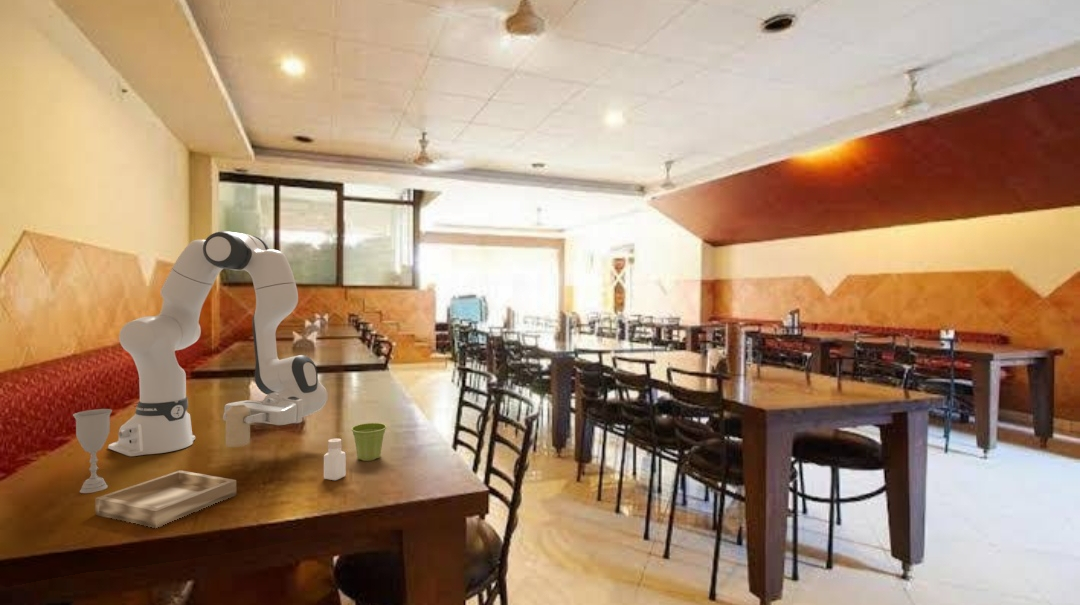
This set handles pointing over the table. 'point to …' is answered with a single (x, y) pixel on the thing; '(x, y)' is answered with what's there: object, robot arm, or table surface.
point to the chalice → (93, 442)
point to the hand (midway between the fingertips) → (234, 418)
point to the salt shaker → (334, 460)
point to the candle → (237, 426)
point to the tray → (165, 498)
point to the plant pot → (369, 440)
